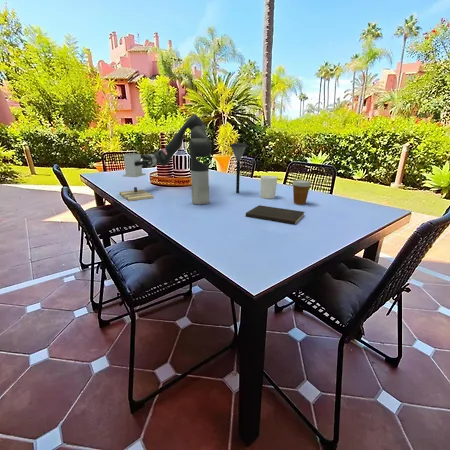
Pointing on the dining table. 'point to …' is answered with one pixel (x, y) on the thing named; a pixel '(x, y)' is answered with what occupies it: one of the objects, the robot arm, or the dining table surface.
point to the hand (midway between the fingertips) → (130, 163)
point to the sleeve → (132, 165)
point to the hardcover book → (275, 214)
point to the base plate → (136, 195)
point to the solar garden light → (238, 159)
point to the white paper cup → (268, 186)
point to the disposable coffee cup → (300, 191)
